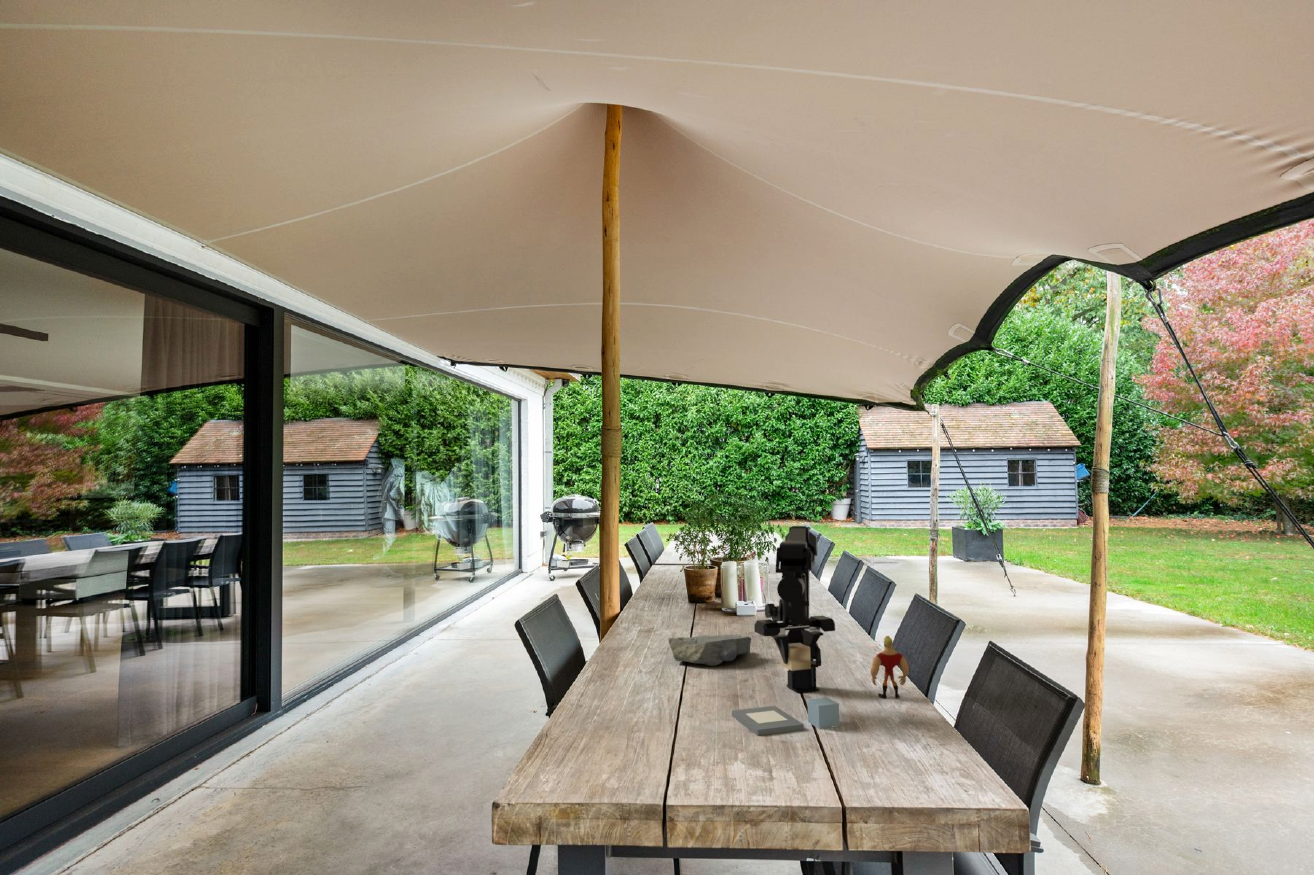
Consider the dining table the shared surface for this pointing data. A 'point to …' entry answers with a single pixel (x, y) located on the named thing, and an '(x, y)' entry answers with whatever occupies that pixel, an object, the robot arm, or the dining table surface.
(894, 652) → the action figure
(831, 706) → the blue block
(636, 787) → the dining table surface
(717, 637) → the stone
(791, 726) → the board
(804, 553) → the robot arm
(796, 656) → the oak block
